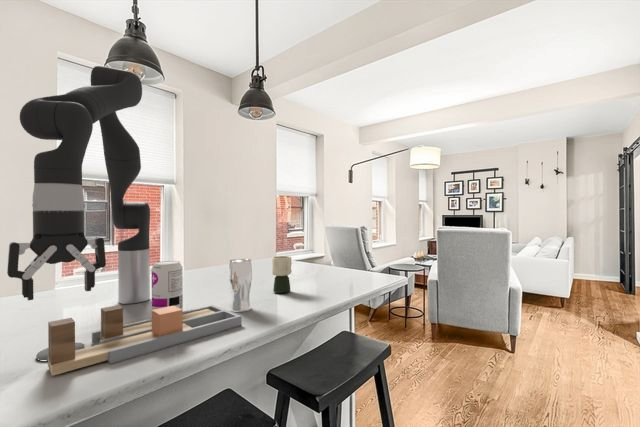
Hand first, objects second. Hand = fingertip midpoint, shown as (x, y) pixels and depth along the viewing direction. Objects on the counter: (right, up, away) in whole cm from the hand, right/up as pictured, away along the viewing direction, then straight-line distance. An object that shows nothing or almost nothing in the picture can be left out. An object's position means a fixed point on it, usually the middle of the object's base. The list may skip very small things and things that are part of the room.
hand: (60, 294), depth 61 cm
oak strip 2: (+10, -14, +20) cm, 27 cm away
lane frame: (+12, -14, +18) cm, 26 cm away
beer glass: (+25, -14, +38) cm, 47 cm away
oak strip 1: (+8, -14, +8) cm, 18 cm away
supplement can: (+4, -14, +34) cm, 37 cm away
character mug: (+35, -14, +59) cm, 70 cm away
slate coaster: (-6, -14, +8) cm, 17 cm away
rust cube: (+14, -12, +14) cm, 23 cm away
